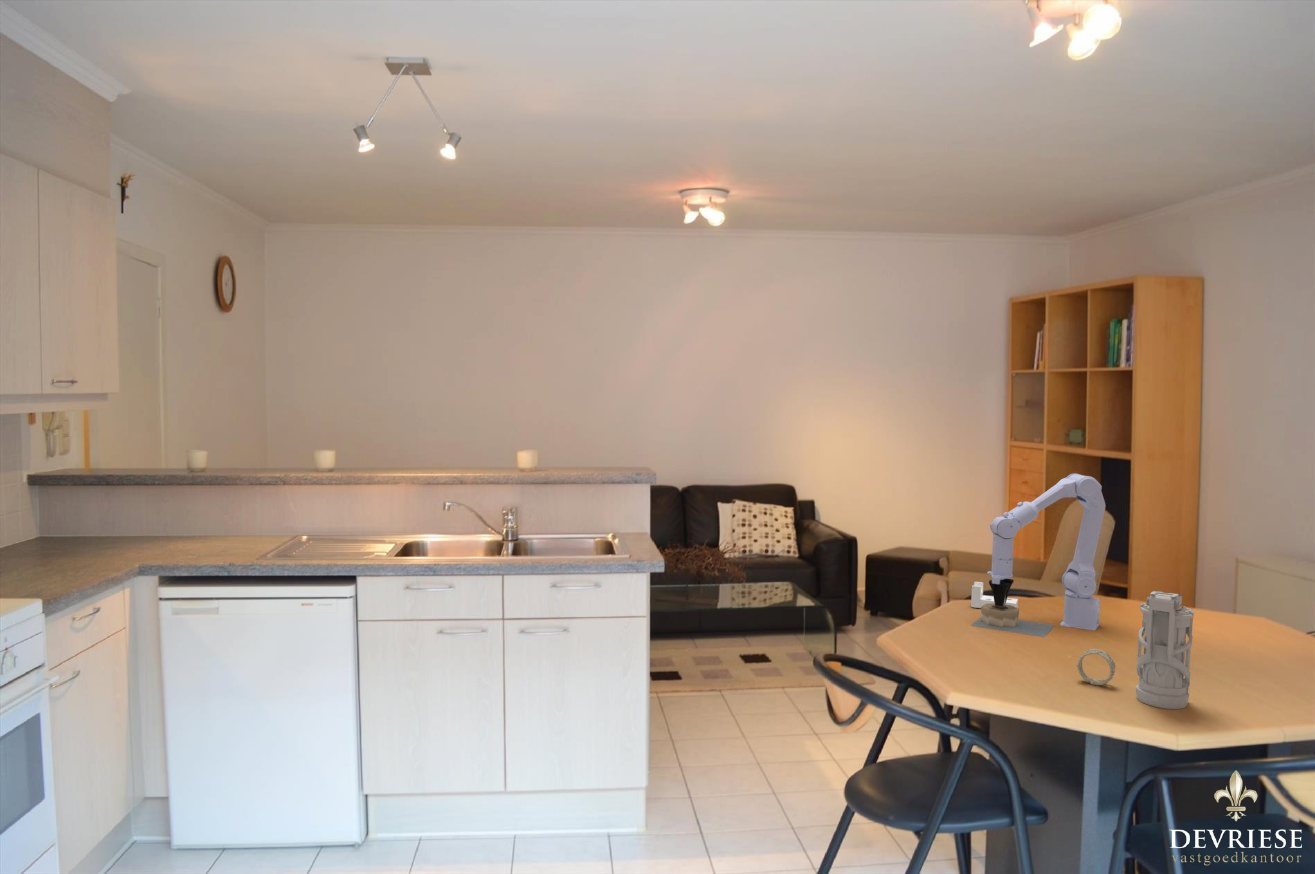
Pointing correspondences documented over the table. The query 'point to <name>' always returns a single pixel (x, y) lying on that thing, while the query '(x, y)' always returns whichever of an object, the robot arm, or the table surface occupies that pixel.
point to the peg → (1000, 606)
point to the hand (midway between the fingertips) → (1000, 604)
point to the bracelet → (1105, 656)
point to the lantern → (1164, 651)
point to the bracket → (986, 597)
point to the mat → (1020, 627)
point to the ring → (999, 615)
